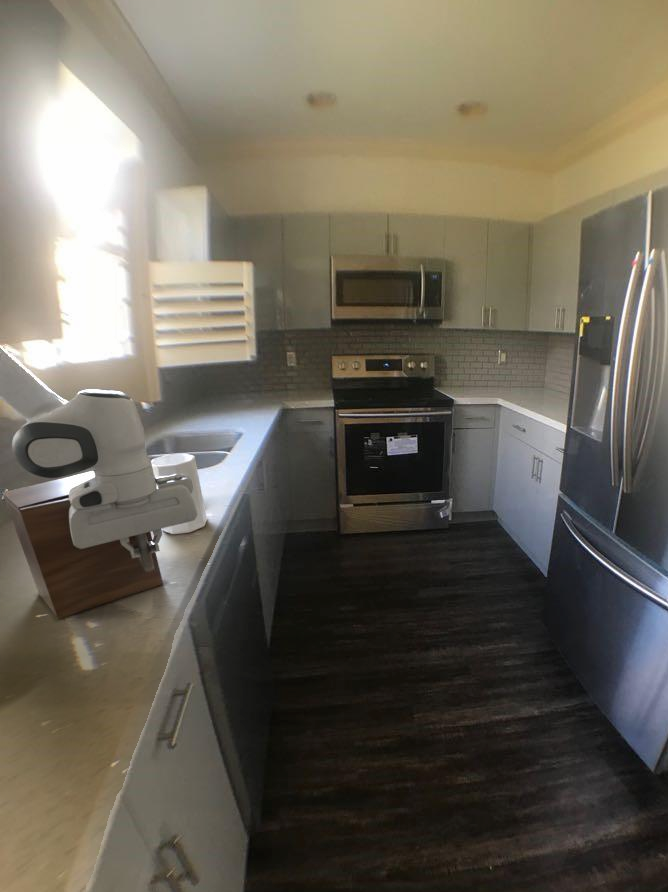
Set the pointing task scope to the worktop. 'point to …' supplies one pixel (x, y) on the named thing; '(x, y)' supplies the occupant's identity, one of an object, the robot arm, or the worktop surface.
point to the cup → (185, 467)
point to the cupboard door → (86, 562)
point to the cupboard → (35, 497)
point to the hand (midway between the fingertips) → (145, 553)
